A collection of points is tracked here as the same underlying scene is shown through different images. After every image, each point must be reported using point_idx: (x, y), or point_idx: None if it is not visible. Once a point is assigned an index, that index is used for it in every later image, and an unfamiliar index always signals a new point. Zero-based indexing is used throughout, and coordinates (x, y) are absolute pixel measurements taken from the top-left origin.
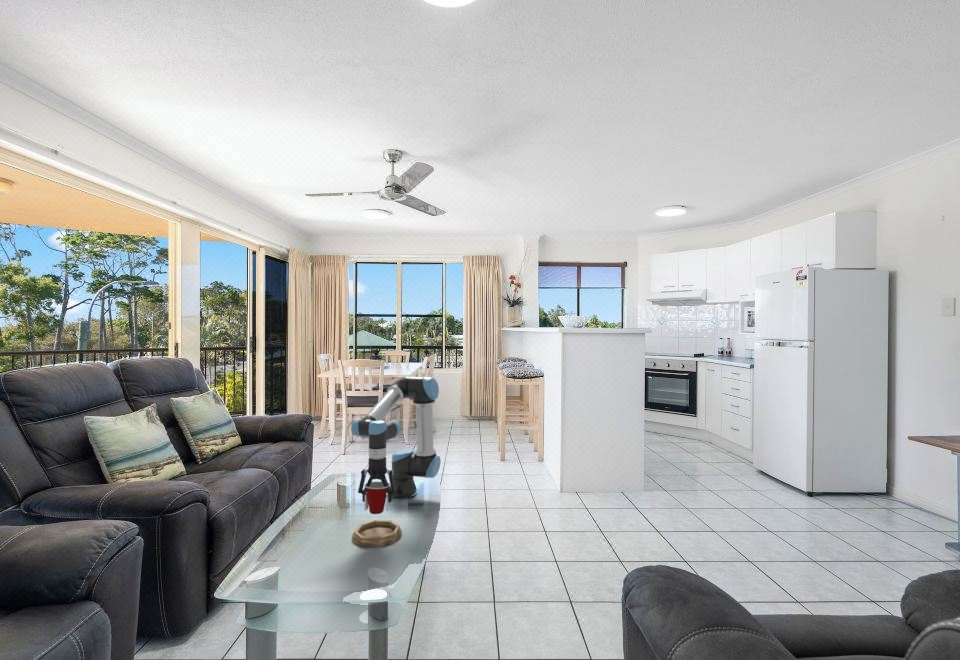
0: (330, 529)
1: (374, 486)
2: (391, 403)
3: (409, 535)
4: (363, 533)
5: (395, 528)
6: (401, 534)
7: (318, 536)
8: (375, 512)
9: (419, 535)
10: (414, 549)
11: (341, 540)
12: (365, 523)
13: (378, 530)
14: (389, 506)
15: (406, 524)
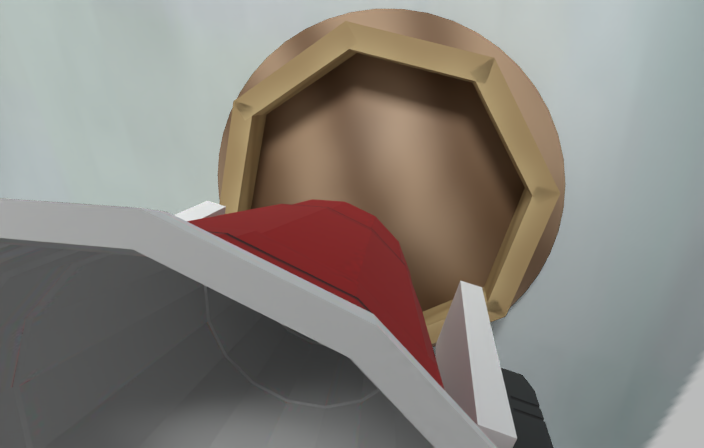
0: (66, 30)
1: (71, 256)
2: None
3: (613, 241)
4: (283, 179)
5: (517, 171)
6: (553, 236)
7: (38, 127)
8: (319, 349)
9: (695, 259)
10: (604, 427)
11: (174, 209)
12: (272, 86)
13: (383, 151)
14: (483, 305)
15: (634, 21)
